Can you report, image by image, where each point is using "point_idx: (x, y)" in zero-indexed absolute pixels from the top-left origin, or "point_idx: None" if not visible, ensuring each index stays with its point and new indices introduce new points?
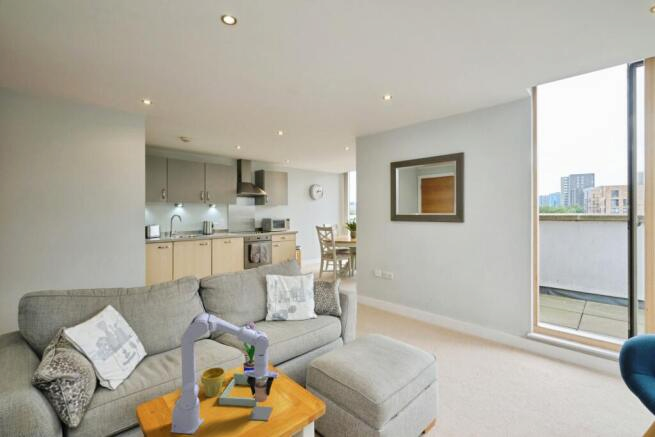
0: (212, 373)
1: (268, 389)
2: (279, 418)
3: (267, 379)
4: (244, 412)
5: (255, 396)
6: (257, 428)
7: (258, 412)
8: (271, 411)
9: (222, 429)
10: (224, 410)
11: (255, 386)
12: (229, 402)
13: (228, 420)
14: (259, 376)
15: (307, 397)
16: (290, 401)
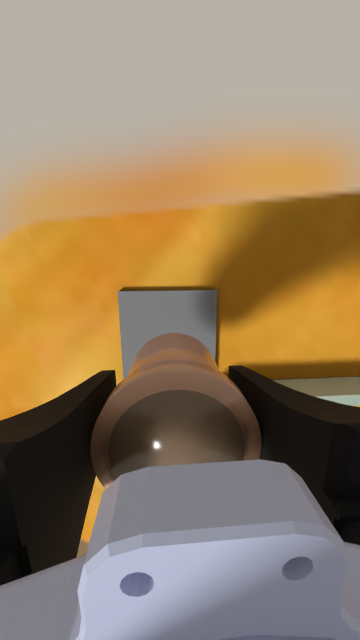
0: None
1: (69, 395)
2: (65, 316)
3: (14, 535)
4: (251, 337)
5: (211, 358)
6: (150, 233)
7: None
8: (123, 358)
9: (319, 209)
10: (347, 339)
11: (238, 409)
12: (343, 382)
13: (309, 274)
14: (182, 635)
15: None
16: None
